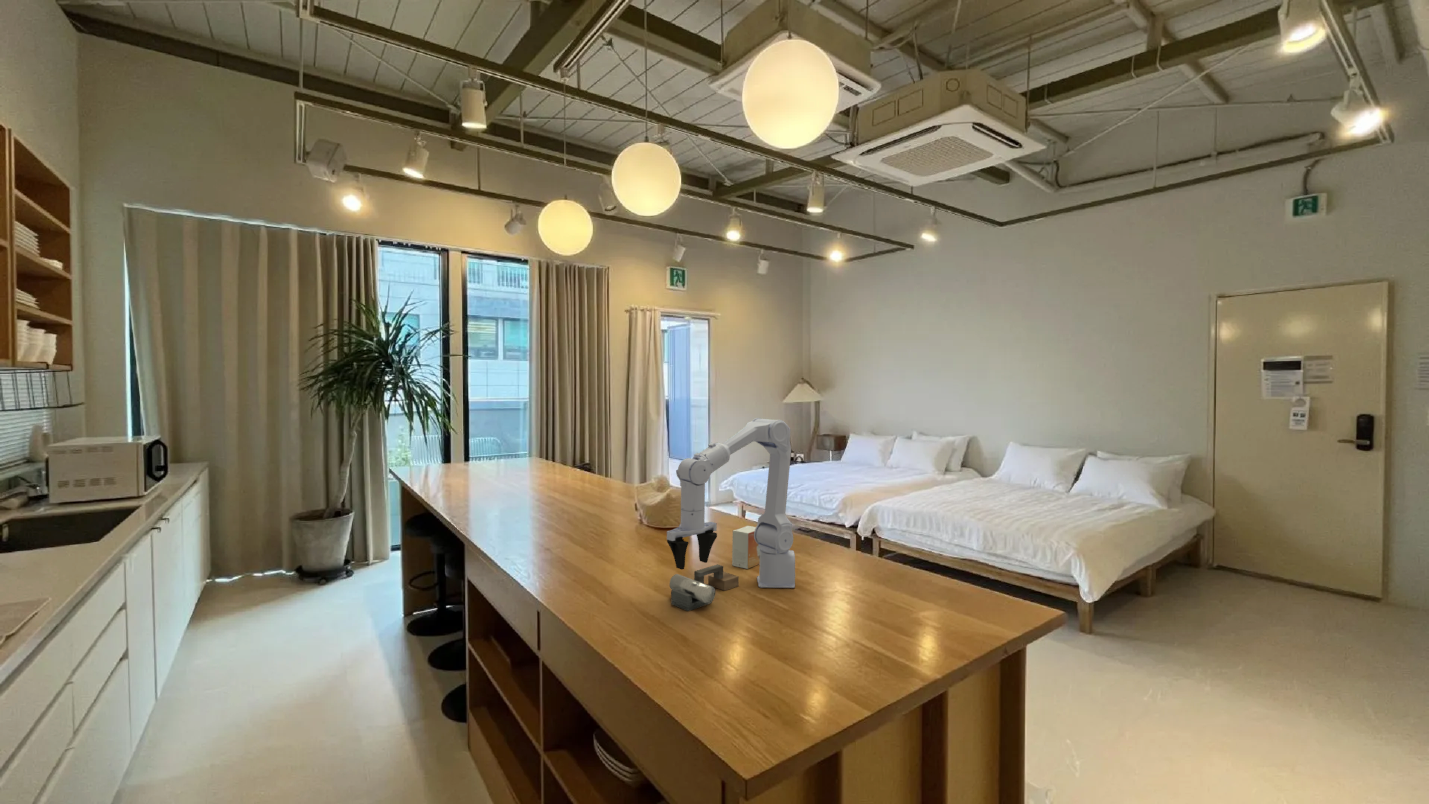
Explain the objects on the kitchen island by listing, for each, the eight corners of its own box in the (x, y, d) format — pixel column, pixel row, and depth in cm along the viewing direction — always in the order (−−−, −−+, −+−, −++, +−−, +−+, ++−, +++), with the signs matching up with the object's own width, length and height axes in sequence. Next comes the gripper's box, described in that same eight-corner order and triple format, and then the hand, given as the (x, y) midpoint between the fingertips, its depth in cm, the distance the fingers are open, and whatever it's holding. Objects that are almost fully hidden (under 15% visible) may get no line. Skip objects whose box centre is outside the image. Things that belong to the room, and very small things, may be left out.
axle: (668, 590, 146) (671, 573, 147) (679, 590, 149) (682, 574, 149) (701, 603, 138) (705, 586, 138) (713, 603, 140) (716, 586, 141)
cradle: (671, 604, 142) (671, 589, 142) (695, 596, 148) (695, 582, 148) (687, 611, 138) (688, 596, 138) (711, 602, 144) (712, 588, 144)
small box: (747, 569, 169) (748, 533, 169) (731, 565, 173) (732, 530, 172) (762, 563, 176) (763, 528, 176) (746, 559, 179) (747, 525, 179)
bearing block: (688, 591, 152) (689, 569, 151) (722, 580, 160) (722, 559, 160) (705, 597, 147) (705, 575, 147) (738, 585, 156) (738, 564, 156)
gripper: (703, 502, 150) (702, 555, 151) (658, 510, 140) (658, 567, 141) (722, 506, 145) (722, 561, 146) (678, 515, 135) (677, 574, 136)
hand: (692, 565), depth 143 cm, fingers open, 7 cm apart
